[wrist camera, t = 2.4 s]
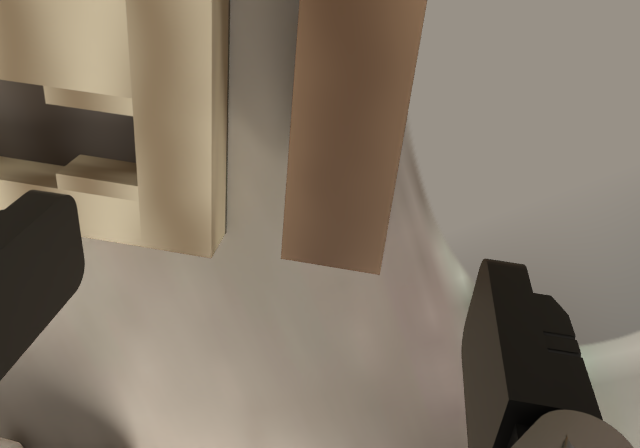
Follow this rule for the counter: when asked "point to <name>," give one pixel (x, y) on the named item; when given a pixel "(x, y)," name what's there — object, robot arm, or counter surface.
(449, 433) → the counter surface
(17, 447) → the cable organizer
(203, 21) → the keyhole board
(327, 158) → the walnut bar
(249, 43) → the counter surface
